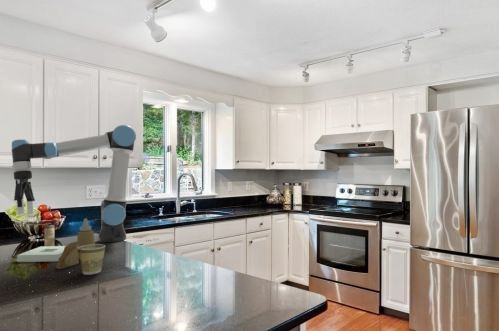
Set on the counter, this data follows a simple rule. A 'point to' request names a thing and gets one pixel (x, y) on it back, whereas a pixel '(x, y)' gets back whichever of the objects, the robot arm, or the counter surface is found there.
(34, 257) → the socket board
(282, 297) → the counter surface
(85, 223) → the squeeze bottle
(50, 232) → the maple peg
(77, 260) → the rock
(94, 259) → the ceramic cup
